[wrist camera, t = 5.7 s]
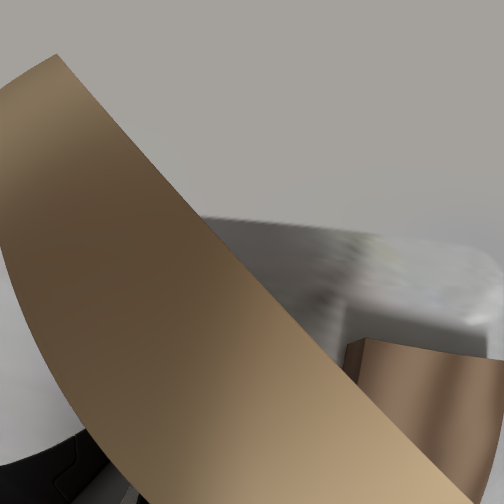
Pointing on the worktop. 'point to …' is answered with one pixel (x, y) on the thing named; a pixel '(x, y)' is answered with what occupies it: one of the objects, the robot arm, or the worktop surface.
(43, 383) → the worktop surface
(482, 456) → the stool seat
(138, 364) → the light wooden board
